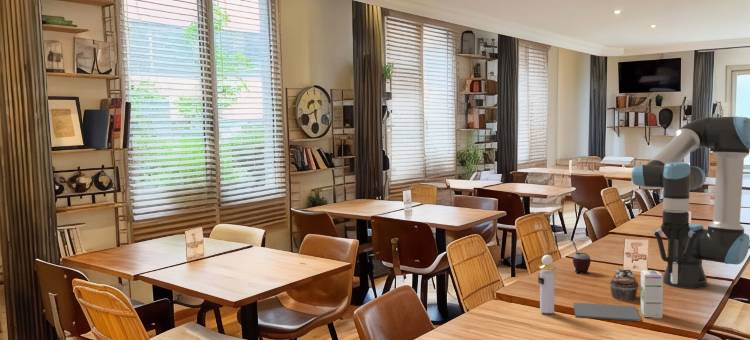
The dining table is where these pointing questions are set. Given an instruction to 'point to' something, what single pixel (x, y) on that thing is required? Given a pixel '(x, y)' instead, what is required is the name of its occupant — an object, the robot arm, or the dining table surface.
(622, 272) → the cupcake
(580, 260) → the mate gourd
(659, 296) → the syrup box
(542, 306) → the perfume bottle
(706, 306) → the dining table surface
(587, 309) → the topple mat
